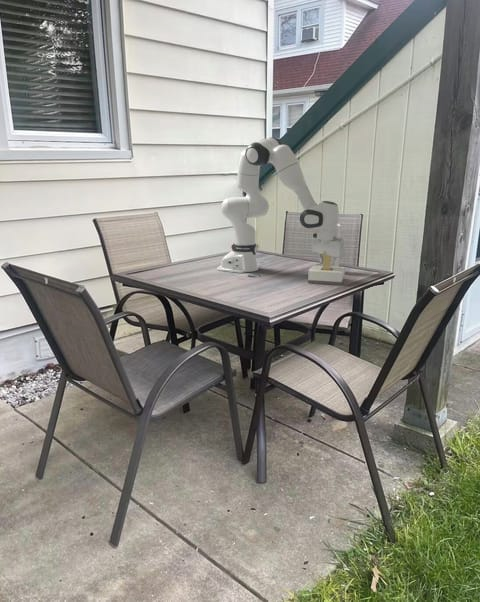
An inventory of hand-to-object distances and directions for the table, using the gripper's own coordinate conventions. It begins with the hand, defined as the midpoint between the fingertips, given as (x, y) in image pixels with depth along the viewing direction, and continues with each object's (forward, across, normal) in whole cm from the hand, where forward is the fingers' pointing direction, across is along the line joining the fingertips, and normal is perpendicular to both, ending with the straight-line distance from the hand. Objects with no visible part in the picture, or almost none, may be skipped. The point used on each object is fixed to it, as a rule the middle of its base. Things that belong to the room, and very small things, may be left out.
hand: (327, 263), depth 234 cm
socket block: (+9, 0, 0) cm, 9 cm away
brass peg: (+6, 0, 0) cm, 6 cm away
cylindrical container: (+9, +13, -15) cm, 22 cm away
